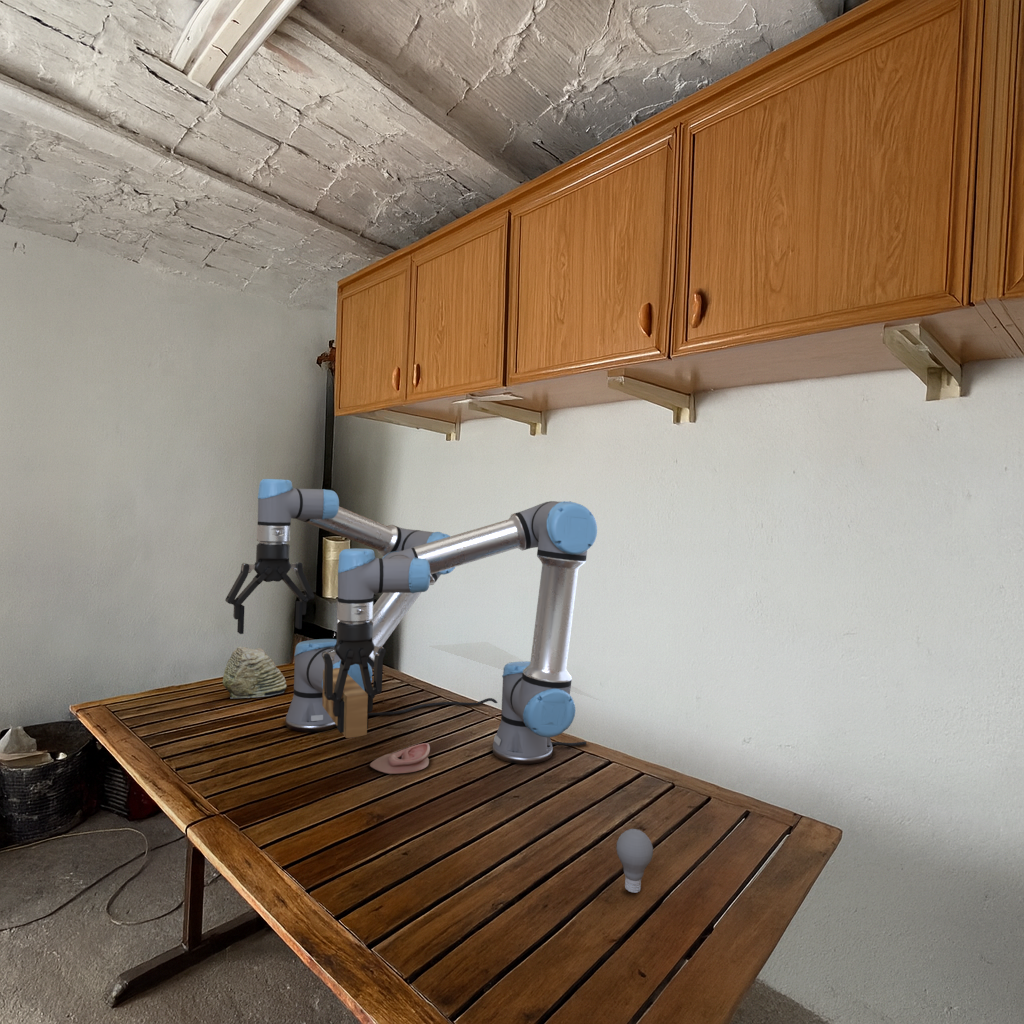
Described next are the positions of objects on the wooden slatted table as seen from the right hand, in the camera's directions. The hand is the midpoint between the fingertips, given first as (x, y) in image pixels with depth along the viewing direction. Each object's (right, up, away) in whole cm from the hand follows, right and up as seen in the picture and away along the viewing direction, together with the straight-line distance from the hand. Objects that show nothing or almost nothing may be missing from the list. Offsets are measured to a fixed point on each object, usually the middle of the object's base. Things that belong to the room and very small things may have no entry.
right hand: (352, 728), depth 136 cm
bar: (-4, 0, +7) cm, 8 cm away
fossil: (-46, -11, +62) cm, 78 cm away
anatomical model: (+8, -14, +15) cm, 22 cm away
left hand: (-24, +18, +17) cm, 35 cm away
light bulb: (+54, -17, -31) cm, 65 cm away
